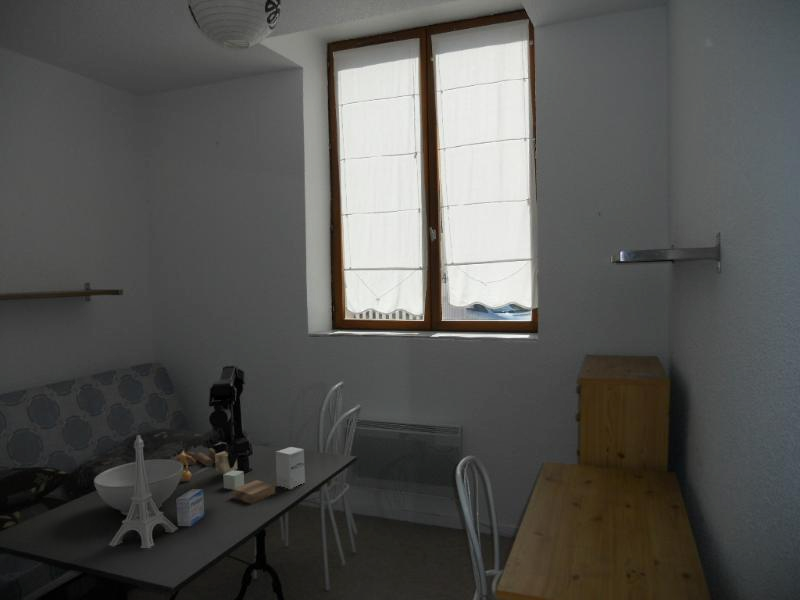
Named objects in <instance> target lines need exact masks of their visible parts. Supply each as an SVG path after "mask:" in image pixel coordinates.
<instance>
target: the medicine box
mask: <svg viewBox="0 0 800 600" xmlns="http://www.w3.org/2000/svg"><path fill="white" fill-rule="evenodd" d="M175 499H176V500H175V501H176V516H177V518H176V519H177V526H179V527H192V526H194V525H195V524H196V523H197V522H198V521H200V520H201V519H203V518H204V517H205V505H204V504H205V503H204V502H205V501H204V490H203V489H199V488H195V489H193V488H192V489H190V490H188V491H186V492H185V493H183V494H182V495H180V496H179V497H177V498H175Z"/></svg>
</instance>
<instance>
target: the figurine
mask: <svg viewBox="0 0 800 600" xmlns="http://www.w3.org/2000/svg"><path fill="white" fill-rule="evenodd" d="M186 457H188V458H191V459H192V460H193V461H195V460H194V459H193V458H192V457H191V456H188V455H186V454H185V451H184V450H183V451H181V453H180V454H177V456H175V457H174V458H173V460H174V461H176V459H179V458H180V459H181V461H180V463H182V464H184V463H185V465H184V466H185V470H184V469H183V472H182V476H181V479H180V481H182V482H184V483H185V482H188V481H190V480H191V478H192V473H191V471H189V470H188V467H189V465H188V463H187V461H185V459H186ZM195 463H196V464H197V461H196V462H195Z"/></svg>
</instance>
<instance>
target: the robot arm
mask: <svg viewBox="0 0 800 600" xmlns="http://www.w3.org/2000/svg"><path fill="white" fill-rule="evenodd" d="M246 378H247V377H246V374H245V371H244V370H243V369H240V368H238V366H237V365H226V366H223V367H222V371H221V372H220V378H219V379H218V380H217V381H215V382H213V383H212V385H211V387H210V388H209V401H208V407H213V411H212V412H211V414H210V415H209V417H208V420H209V424H210V425H211V428H212V429H211V430H210V431H207V432H206V433H204V434H203V435H201V436H200V437H199V442H200V443H201V447H203V448H207V449H210V448H212V449H213V450H214V451H215V453H216V454H217V453H221V452H224V451H225V452H226V453H227V454H228V461H229V466H230V468H233V467H234V464H235V462H236V459H237V468H238V469H236V470H235V471H244V474H245V473H247V472H251V471H253V468H252V467H250V459H249V457H251V456H252V455H254V449H253V448H254V447H253V443H252V441H251V440H250V439H249V434H248V432H246V430H245V429H244V418H243V405H242V404H243V403H242V394H243V392H244V389H245V387H246V386H245V385H246V384H247V379H246Z"/></svg>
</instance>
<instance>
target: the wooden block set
mask: <svg viewBox="0 0 800 600" xmlns="http://www.w3.org/2000/svg"><path fill="white" fill-rule="evenodd" d="M184 453H185V452H184ZM185 454H186V455H188V456H191V457H192V458H193V459H194V460H195V461H193V460H192V459H191V458H188V457H186V459H185V461H187V463H188V466H197V461H198V462H199V463H201V464H203V465H204V466H205V467H207V468H210V467H212V466H213V465H214V463H215V454H216V453H215V451H214V450H213V449H212V448H208V456H207V455H206V454H204V453H202V452H198V453H194V452H193V451H190V452H186V453H185ZM180 461H181V459H180V458H178V462H180ZM195 462H196V463H195ZM183 466H186V465H185V463H184V464H183Z"/></svg>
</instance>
